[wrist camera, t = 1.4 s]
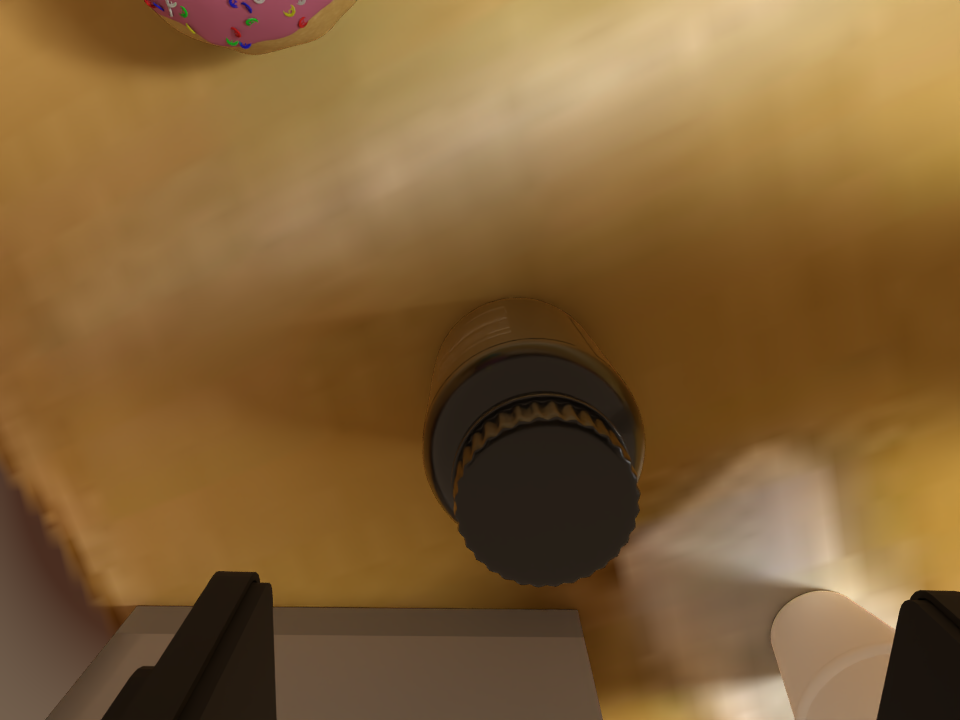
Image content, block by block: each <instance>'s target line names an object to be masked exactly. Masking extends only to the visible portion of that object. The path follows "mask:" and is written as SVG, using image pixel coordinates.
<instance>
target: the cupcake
mask: <svg viewBox="0 0 960 720" xmlns="http://www.w3.org/2000/svg"><path fill="white" fill-rule="evenodd" d="M144 1H145V3H146V4H147V5H148V6H150V7H151V8H152V9H153V10H154V11H155V12H156V13H157V14H158V15H159V16H160V17H162V18H163V19H164V20H165V21H166V22H167V23H168V24H170V25H171V26H172V27H173V28H175V29H176V30H178V31H179V32H181V33H183V34H185V35H187V36H189V37H191V38H194V39H196V40H199V41H202V42H205V43H209V44H212V45H215V46H221V47H226V48H229V49H233V50H236V51H239V52H242V53H245V54H250V55H258V54H265V53H269V52H273V51H277V50H281V49H284V48H288V47H292V46H296V45H300V44H304V43H308V42H311V41H314V40H316V39H318V38H320V37H322V36H323V35H325V34H326V33H327V32H328V31H329V30H330V29H331V28H332V27H333V26H334V25H335V24H336V22H337V21H338V20H339V19H340V18H341V17H342V16H343V15H344V14H345V13H346V12H347V11H348V10H349V9H350V7H351V6H352V5H353V4H354V3H355V2H356V1H357V0H144Z"/></svg>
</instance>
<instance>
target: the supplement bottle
mask: <svg viewBox="0 0 960 720" xmlns="http://www.w3.org/2000/svg"><path fill="white" fill-rule="evenodd" d="M644 454H645V434H644V426H643V422H642V417H641V414H640V411H639V408H638V406H637V404H636V402H635V400H634V397H633V395H632V394H631V392H630V390H629V389H628V387H627V385H626V384H625V382H624V381H623V380H622V378H621V377H620V376H619V374H618V373H617V372H616V370H615V369H614V368H613V366H612V365H611V364H610V362H609V361H608V360H607V359H606V357H605V356H604V355H603V353H602V352H601V351H600V349H599V348H598V347H597V345H596V344H595V343H594V342H593V340H592V339H591V338H590V336H589V335H588V334H587V332H586V331H585V330H584V329H583V328H582V327H581V326H580V325H579V324H578V322H577V321H576V320H574V319H573V318H572V317H571V316H570V315H568V314H567V313H566V312H564V311H563V310H561V309H559V308H557V307H555V306H553V305H551V304H549V303H546V302H543V301H540V300H535V299H529V298H506V299H500V300H496V301H493V302H490V303H487V304H484V305H482V306H480V307H478V308H476V309H475V310H473V311H471V312H470V313H468V314H467V315H466V316H465V317H463V318H462V319H461V320H460V321H459V322H458V323H457V324H456V325H455V326H454V327H453V328H452V330H451V331H450V332H449V334H448V335H447V337H446V338H445V340H444V342H443V344H442V346H441V348H440V350H439V353H438V356H437V359H436V363H435V367H434V372H433V377H432V383H431V389H430V395H429V401H428V407H427V412H426V418H425V424H424V432H423V461H424V467H425V472H426V476H427V479H428V482H429V485H430V487H431V489H432V491H433V494H434V495H435V497H436V499H437V501H438V502H439V504H440V505H441V507H442V508H443V509H444V511H445V512H446V513H447V514H448V515H449V517H450V518H451V519H452V520H453V521H454V522H455V523H457V524H458V531H459V532H460V534H461V535H462V536H463V537H464V540H465V545H466V547H467V548H469V549H470V550H471V551H473V552H474V555H475V557H476V560H478V561H480V562H482V563H484V564H485V565H486V566H487V568H488V569H489V571H492V572H496V573H499V574H500V575H501V577H503V578H504V579H507V580H514V581H516V582H517V583H518V584H520V585H527V584H531V585H533V586H535V587H542V586H545V585H549V586H554V587H556V586H559V585H561V584H563V583H574V582H576V581H577V580H578V579H580V578H586V577H590V576H591V575H592V574H593V573H594V572H595V571H596V570H599V569H602V568H605V566H606V565H607V563H608V562H609V560H611V559H613V558H615V557H617V556H618V554H619V552H620V549H621V548H622V547H623V546H624V545H626V544H627V543H628V540H629V534H630V533H631V532H632V531H633V530H634V528H635V518H636V517H637V515H638V513H639V511H640V509H639V505H638V500H639V497H640V490H639V488H638V486H637V483H638V480H639V477H640V474H641V471H642V467H643V462H644Z"/></svg>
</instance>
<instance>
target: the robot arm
mask: <svg viewBox="0 0 960 720" xmlns="http://www.w3.org/2000/svg"><path fill="white" fill-rule="evenodd" d="M101 720H277V714H276V685H275V656H274V626H273V597H272V587H271V584H270V583H260V579H259V575H258V574H257V573H256V572H226V571H219V572H216V573H215V574H214V575H213V577H212V578H211V580H210V581H209V583H208V584H207V586H206V587H205V589H204V591H203V592H202V594H201V595H200V597H199V598H198V600H197V601H196V603H195V605H194V606H193V608H192V609H191V611H190V612H189V614H188V615H187V617H186V618H185V620H184V622H183V623H182V625H181V626H180V628H179V629H178V631H177V632H176V634H175V636H174V637H173V639H172V640H171V642H170V643H169V645H168V646H167V648H166V649H165V651H164V653H163V654H162V656H161V657H160V659H159V660H158V662H157V663H156V665H155V666H142V667H140V668H138V669H137V670H136V671H135V672H134V673H133V674H132V675H131V676H130V678H129V679H128V681H127V682H126V684H125V685H124V687H123V688H122V689H121V691H120V692H119V694H118V695H117V697H116V698H115V700H114V701H113V703H112V704H111V706H110V707H109V709H108V710H107V711H106V713H105V714H104V716H103V717H102V719H101ZM876 720H960V592H957V591H930V590H919V591H917V592H915V593H914V594H913V595H912V596H911V598H910V600H907V601H904V603H903V604H902V605H901V608H900V611H899V616H898V621H897V626H896V630H895V635H894V640H893V644H892V649H891V654H890V658H889V663H888V668H887V672H886V677H885V682H884V687H883V691H882V696H881V701H880V705H879V710H878V715H877V719H876Z"/></svg>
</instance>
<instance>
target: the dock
mask: <svg viewBox="0 0 960 720" xmlns="http://www.w3.org/2000/svg"><path fill="white" fill-rule="evenodd" d="M192 608H193V606H137V607H136V608H135V609H134V610H133V612H132V613H131V614H130V615H129V617H128V618H127V619H126V620H125V622H124V623H123V624H122V625H121V627H120V628H119V629H118V630H117V632H116V633H115V634H114V635H113V636H112V638H111V639H110V640H109V641H108V643H107V644H106V645H105V646H104V648H103V649H102V650H101V651H100V653H99V654H98V655H97V656H96V658H95V659H94V660H93V661H92V662H91V664H90V665H89V666H88V667H87V669H86V670H85V671H84V672H83V674H82V675H81V676H80V677H79V679H78V680H77V681H76V682H75V684H74V685H73V686H72V687H71V689H70V690H69V691H68V692H67V693H66V695H65V696H64V697H63V699H62V700H61V701H60V702H59V704H58V705H57V706H56V707H55V709H54V710H53V711H52V712H51V713H50V715H49V716H48V717H47V718H46V720H101V719H102V717H103V716H104V714H105V713H106V711H107V710H108V709H109V707H110V706H111V704H112V703H113V701H114V700H115V698H116V697H117V695H118V694H119V692H120V691H121V689H122V688H123V687H124V685H125V684H126V682H127V681H128V679H129V678H130V676H131V675H132V674H133V673H134V672H135V671H136V670H137V669H138V668H140V667H142V666H155V665H156V663H157V662H158V660H159V659H160V657H161V656H162V654H163V653H164V651H165V649H166V648H167V646H168V645H169V643H170V642H171V640H172V639H173V637H174V636H175V634H176V632H177V631H178V629H179V628H180V626H181V625H182V623H183V622H184V620H185V618H186V617H187V615H188V614H189V612H190V611H191V609H192ZM273 626H274V656H275V685H276V714H277V720H603V718H602V714H601V709H600V705H599V701H598V696H597V692H596V688H595V683H594V679H593V675H592V670H591V666H590V662H589V657H588V653H587V649H586V644H585V640H584V636H583V631H582V627H581V623H580V618H579V614H578V610H540V609H425V608H311V607H273Z"/></svg>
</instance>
